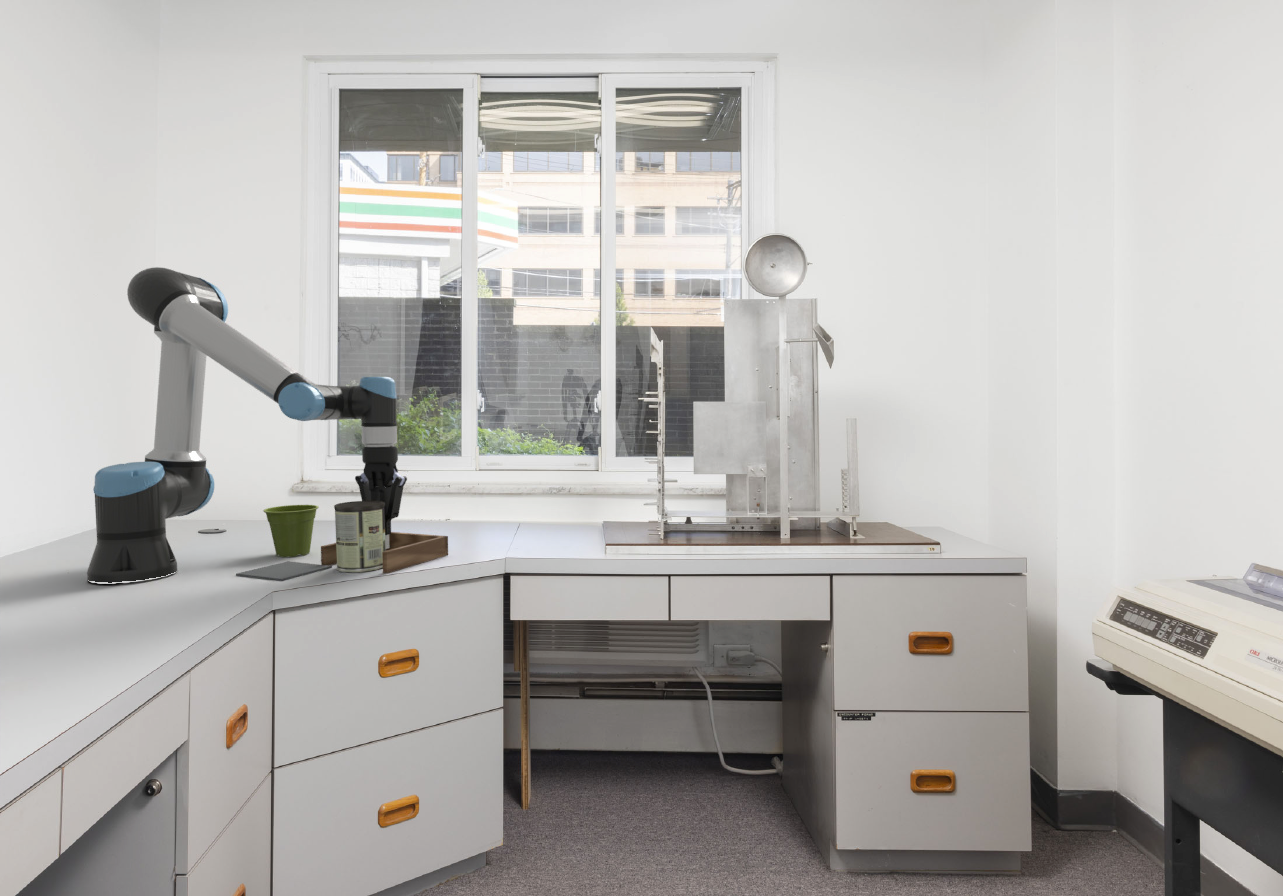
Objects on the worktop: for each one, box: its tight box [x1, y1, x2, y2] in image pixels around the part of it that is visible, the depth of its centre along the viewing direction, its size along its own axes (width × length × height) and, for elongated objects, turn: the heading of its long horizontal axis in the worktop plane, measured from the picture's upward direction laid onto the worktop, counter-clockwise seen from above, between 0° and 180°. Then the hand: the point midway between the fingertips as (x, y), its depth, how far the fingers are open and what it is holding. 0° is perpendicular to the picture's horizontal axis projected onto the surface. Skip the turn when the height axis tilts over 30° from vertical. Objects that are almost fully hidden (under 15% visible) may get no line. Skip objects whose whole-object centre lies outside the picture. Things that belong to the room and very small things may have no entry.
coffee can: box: [333, 500, 386, 573], centre depth 154 cm, size 10×10×14 cm
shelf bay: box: [320, 531, 449, 574], centre depth 162 cm, size 18×20×4 cm
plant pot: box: [262, 504, 319, 558], centre depth 169 cm, size 12×12×11 cm
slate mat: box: [235, 560, 333, 582], centre depth 151 cm, size 13×13×1 cm
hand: (382, 548), depth 160 cm, fingers closed
